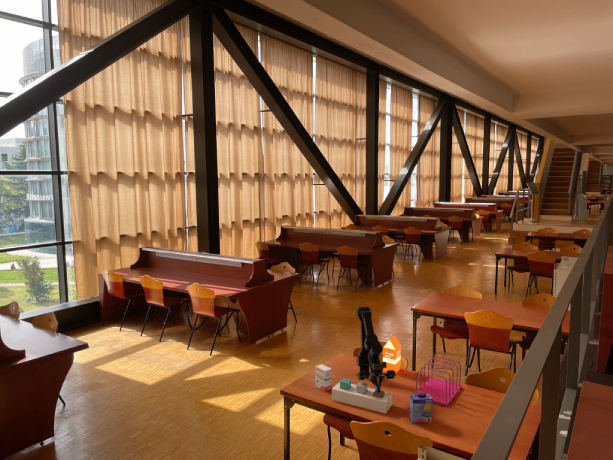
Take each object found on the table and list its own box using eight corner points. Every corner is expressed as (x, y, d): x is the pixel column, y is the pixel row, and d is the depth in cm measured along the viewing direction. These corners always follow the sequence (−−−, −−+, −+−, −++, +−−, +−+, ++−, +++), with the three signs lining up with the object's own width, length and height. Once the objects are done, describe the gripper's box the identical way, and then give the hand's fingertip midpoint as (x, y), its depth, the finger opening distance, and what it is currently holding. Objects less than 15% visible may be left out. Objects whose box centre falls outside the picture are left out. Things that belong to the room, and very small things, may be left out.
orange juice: (400, 368, 284) (401, 336, 281) (395, 374, 277) (395, 341, 274) (388, 365, 288) (388, 333, 285) (382, 371, 281) (383, 338, 278)
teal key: (343, 385, 251) (343, 378, 251) (351, 387, 249) (351, 379, 249) (339, 388, 248) (339, 381, 247) (347, 390, 246) (347, 383, 245)
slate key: (359, 389, 247) (359, 381, 247) (367, 391, 245) (367, 383, 245) (356, 392, 243) (356, 385, 243) (364, 394, 241) (364, 387, 241)
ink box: (332, 389, 259) (332, 368, 257) (325, 392, 256) (325, 371, 254) (321, 383, 265) (321, 363, 264) (314, 386, 262) (314, 365, 261)
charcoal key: (375, 396, 243) (376, 389, 243) (384, 398, 241) (384, 391, 241) (372, 400, 240) (373, 393, 239) (381, 402, 238) (381, 395, 237)
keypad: (339, 391, 256) (339, 381, 255) (392, 404, 243) (392, 393, 242) (331, 399, 247) (331, 388, 247) (385, 413, 234) (386, 402, 233)
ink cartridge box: (412, 423, 225) (413, 394, 223) (408, 417, 231) (409, 389, 228) (432, 422, 226) (433, 393, 224) (428, 416, 231) (429, 388, 229)
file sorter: (414, 398, 250) (414, 369, 247) (430, 379, 270) (431, 353, 268) (447, 407, 240) (448, 377, 238) (461, 387, 261) (463, 360, 258)
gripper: (358, 356, 242) (362, 387, 233) (395, 355, 243) (400, 385, 234) (356, 364, 251) (359, 394, 242) (391, 363, 252) (396, 393, 243)
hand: (378, 391), depth 240 cm, fingers closed, pressing on charcoal key
